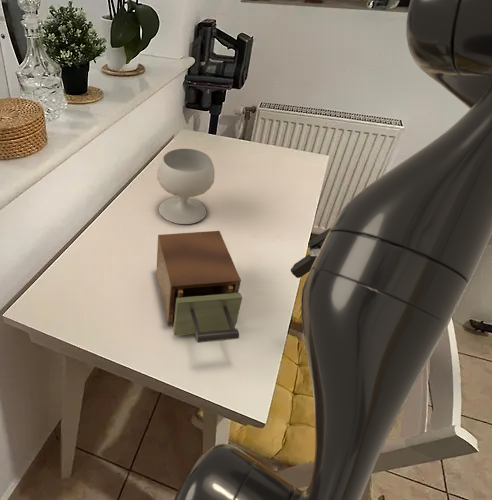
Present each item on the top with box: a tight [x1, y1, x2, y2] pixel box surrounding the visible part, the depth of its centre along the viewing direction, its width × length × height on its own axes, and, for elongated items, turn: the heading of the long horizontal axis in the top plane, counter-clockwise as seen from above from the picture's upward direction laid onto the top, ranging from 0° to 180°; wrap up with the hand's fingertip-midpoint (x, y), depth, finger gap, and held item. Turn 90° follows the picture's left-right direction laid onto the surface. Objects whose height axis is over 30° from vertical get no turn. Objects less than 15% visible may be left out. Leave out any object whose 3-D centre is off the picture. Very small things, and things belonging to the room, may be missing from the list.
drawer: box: [172, 285, 243, 343], centre depth 80 cm, size 20×12×9 cm, turn 7°
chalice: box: [156, 148, 216, 225], centre depth 107 cm, size 14×14×15 cm
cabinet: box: [155, 230, 242, 327], centre depth 85 cm, size 15×13×11 cm
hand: (304, 293), depth 65 cm, fingers open, 8 cm apart
